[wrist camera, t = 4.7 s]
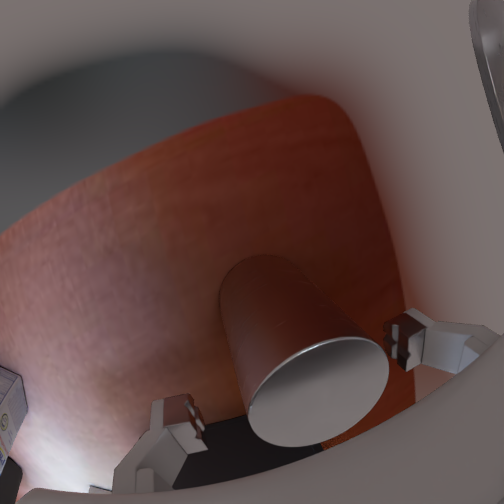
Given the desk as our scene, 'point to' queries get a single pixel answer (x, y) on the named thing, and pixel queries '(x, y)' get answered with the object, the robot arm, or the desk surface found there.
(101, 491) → the usb wall charger
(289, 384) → the drink can
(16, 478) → the card reader
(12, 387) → the medicine box
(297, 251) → the desk surface
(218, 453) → the trash bin
